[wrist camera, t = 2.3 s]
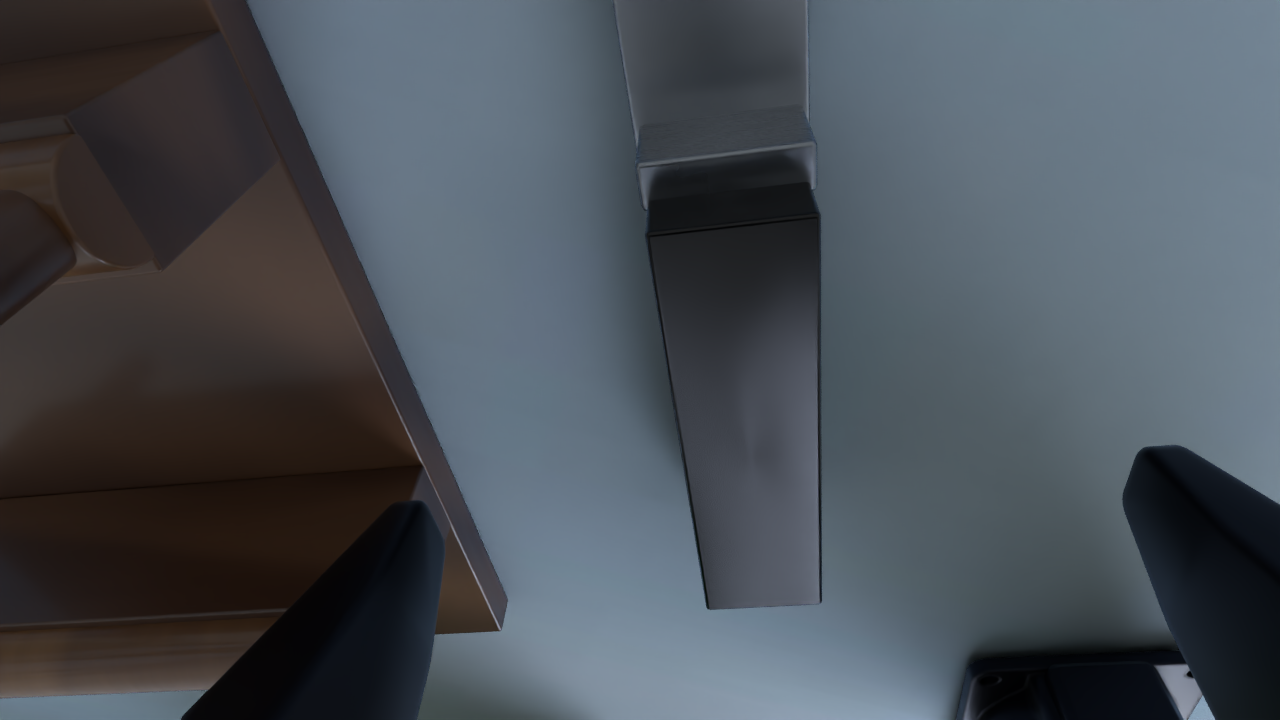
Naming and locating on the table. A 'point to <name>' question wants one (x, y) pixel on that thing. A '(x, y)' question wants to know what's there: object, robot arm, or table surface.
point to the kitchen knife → (735, 278)
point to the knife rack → (184, 358)
